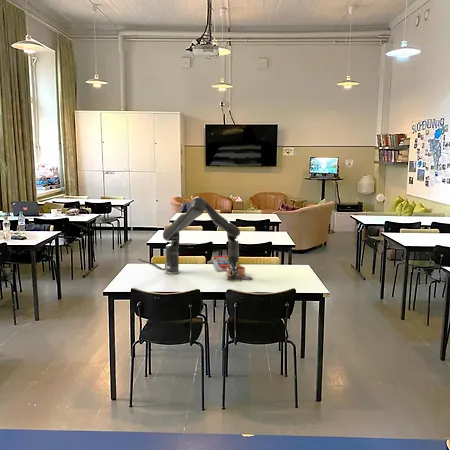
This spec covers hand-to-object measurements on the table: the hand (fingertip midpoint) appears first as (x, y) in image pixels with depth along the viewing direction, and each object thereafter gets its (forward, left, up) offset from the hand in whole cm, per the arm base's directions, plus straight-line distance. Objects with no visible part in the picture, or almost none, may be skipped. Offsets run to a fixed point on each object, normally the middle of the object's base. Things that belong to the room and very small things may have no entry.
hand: (233, 278), depth 312 cm
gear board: (-46, +6, -1) cm, 46 cm away
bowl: (-12, +5, -1) cm, 13 cm away
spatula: (0, +5, -1) cm, 5 cm away
